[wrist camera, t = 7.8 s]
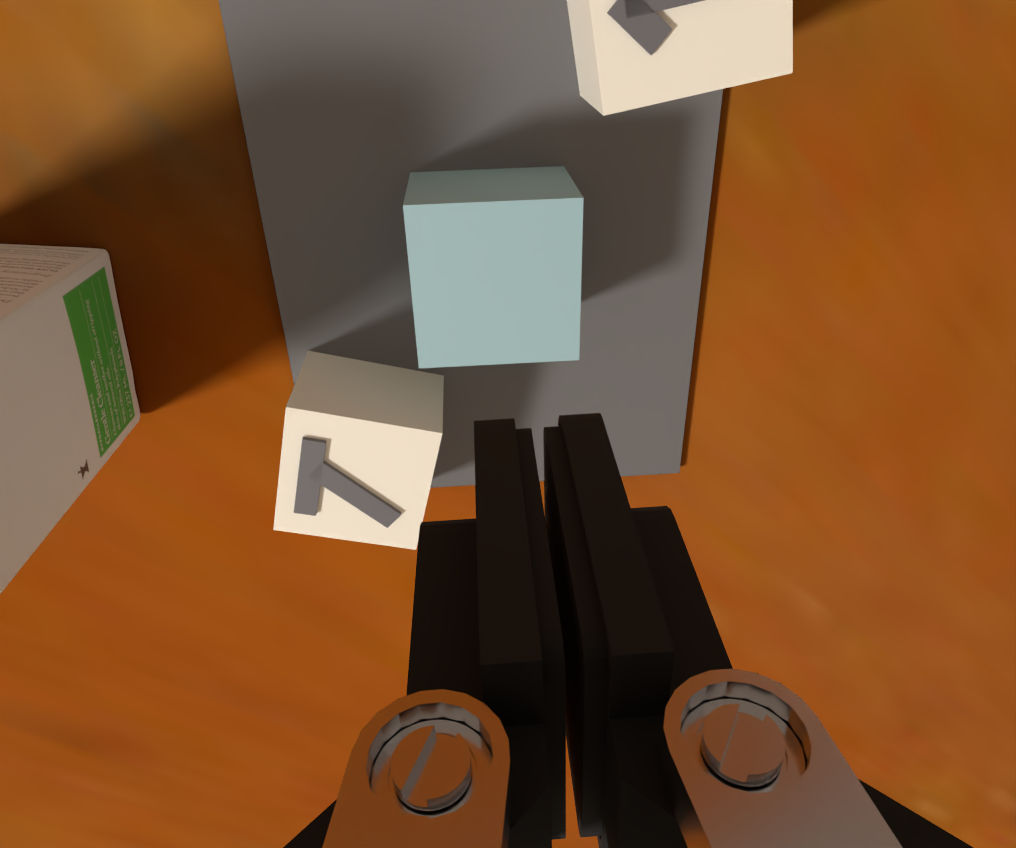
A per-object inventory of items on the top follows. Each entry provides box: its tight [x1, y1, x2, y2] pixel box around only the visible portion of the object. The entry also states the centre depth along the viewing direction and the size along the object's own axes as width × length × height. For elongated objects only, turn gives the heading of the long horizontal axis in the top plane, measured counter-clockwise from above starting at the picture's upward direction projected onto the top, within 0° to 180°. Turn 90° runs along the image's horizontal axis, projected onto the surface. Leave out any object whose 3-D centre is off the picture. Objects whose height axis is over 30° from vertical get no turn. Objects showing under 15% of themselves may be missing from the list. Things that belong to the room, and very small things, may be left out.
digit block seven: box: [273, 351, 444, 550], centre depth 32 cm, size 6×6×5 cm
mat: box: [219, 0, 723, 487], centre depth 30 cm, size 18×24×1 cm
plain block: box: [403, 166, 584, 368], centre depth 28 cm, size 6×6×5 cm
